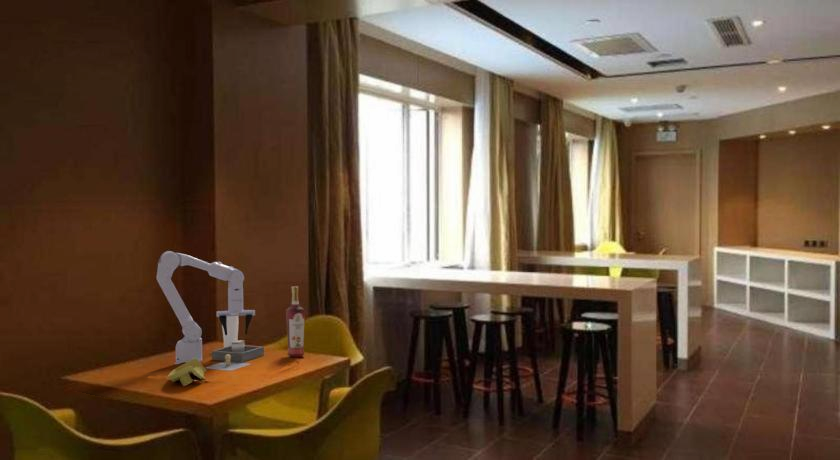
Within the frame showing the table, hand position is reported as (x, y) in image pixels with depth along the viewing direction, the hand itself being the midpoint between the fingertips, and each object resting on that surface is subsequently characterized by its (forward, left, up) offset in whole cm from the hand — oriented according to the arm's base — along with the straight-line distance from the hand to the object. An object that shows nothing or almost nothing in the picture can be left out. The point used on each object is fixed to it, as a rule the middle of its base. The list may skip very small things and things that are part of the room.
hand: (236, 334), depth 279 cm
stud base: (+8, -15, -10) cm, 20 cm away
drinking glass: (-14, +15, -10) cm, 23 cm away
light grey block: (+2, -1, -9) cm, 10 cm away
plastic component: (+6, -35, -10) cm, 37 cm away
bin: (+2, -1, -10) cm, 10 cm away
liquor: (+20, +12, -10) cm, 25 cm away
